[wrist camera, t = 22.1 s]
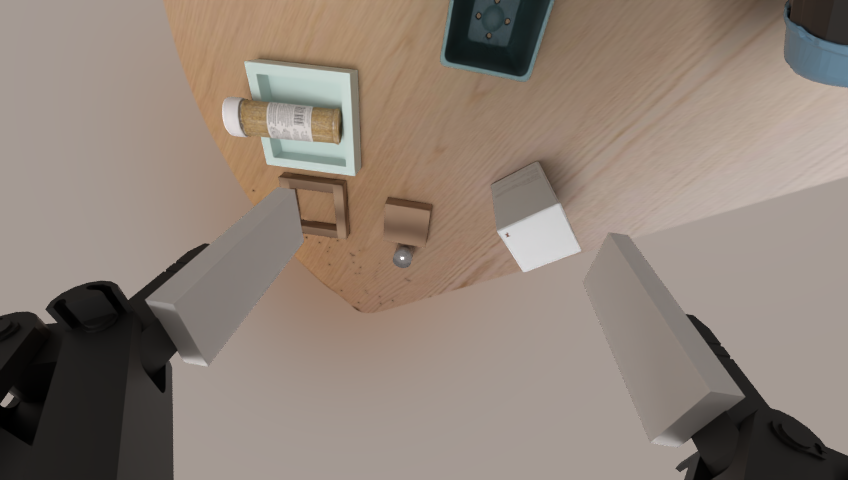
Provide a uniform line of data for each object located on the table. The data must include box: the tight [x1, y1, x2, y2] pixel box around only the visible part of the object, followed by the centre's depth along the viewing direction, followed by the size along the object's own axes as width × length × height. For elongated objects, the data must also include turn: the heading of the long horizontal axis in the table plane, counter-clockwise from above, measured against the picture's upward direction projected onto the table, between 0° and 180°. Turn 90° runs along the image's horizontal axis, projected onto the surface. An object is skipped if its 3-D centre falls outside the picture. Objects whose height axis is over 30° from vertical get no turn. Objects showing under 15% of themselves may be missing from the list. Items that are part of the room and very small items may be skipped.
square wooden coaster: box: [383, 197, 432, 247], centre depth 50 cm, size 7×7×2 cm
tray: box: [244, 59, 361, 176], centre depth 42 cm, size 13×13×3 cm
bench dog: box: [393, 243, 415, 268], centre depth 52 cm, size 3×3×4 cm
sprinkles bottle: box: [222, 97, 342, 145], centre depth 40 cm, size 5×5×13 cm
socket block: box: [278, 173, 350, 239], centre depth 51 cm, size 10×10×2 cm
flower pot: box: [440, 0, 555, 82], centre depth 31 cm, size 9×9×9 cm
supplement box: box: [491, 161, 582, 272], centre depth 40 cm, size 7×7×13 cm
